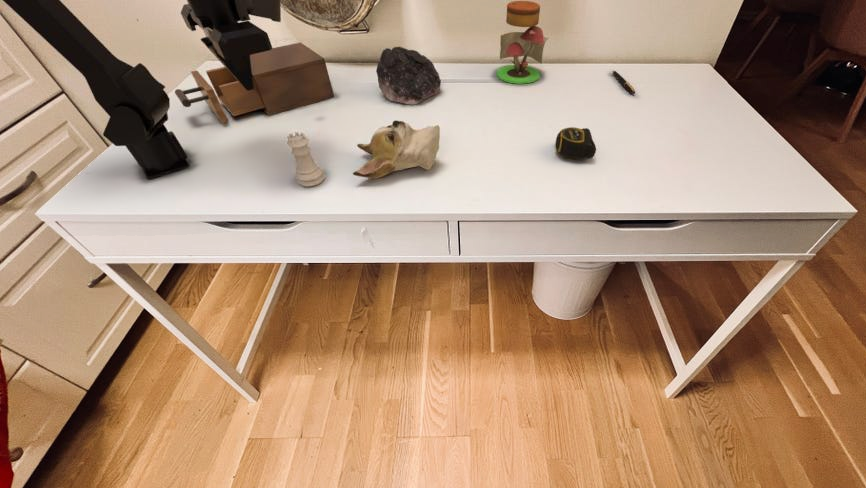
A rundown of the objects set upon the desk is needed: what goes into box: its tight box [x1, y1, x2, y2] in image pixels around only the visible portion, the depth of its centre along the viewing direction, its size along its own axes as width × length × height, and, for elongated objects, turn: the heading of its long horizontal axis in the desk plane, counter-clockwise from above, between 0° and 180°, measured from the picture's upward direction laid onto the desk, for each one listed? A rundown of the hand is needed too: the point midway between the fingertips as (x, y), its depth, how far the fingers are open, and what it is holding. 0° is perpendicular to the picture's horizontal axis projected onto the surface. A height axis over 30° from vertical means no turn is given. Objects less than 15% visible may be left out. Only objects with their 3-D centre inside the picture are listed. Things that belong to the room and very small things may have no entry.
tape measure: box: [554, 126, 597, 160], centre depth 71 cm, size 7×7×4 cm
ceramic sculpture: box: [352, 120, 441, 179], centre depth 66 cm, size 11×9×15 cm
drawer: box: [174, 66, 265, 123], centre depth 80 cm, size 18×11×6 cm, turn 130°
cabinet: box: [250, 41, 335, 116], centre depth 85 cm, size 15×13×8 cm
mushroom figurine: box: [496, 0, 550, 85], centre depth 92 cm, size 12×13×15 cm
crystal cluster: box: [375, 46, 442, 106], centre depth 87 cm, size 13×14×10 cm
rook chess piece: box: [286, 131, 325, 188], centre depth 63 cm, size 4×4×8 cm
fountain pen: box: [611, 69, 636, 95], centre depth 94 cm, size 14×1×2 cm, turn 8°
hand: (249, 89), depth 61 cm, fingers closed
